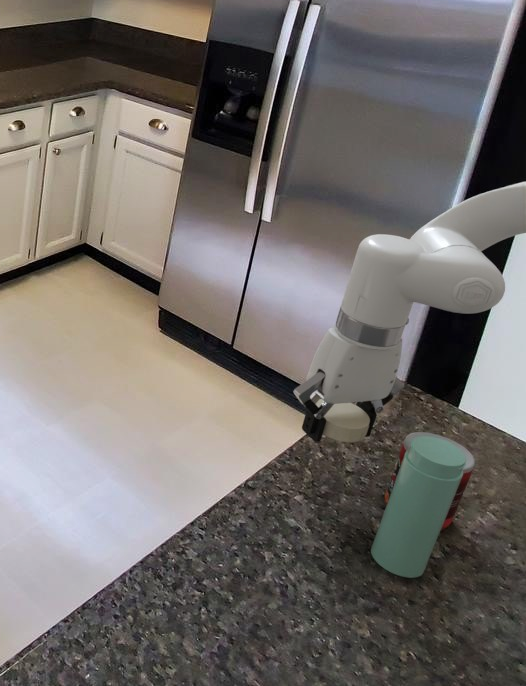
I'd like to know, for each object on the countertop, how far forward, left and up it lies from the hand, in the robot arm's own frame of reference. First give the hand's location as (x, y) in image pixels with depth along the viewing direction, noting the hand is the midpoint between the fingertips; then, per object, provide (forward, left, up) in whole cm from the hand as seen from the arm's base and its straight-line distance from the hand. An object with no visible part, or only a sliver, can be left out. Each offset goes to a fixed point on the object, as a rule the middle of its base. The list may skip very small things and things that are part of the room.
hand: (335, 432), depth 113 cm
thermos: (-4, +14, -9) cm, 17 cm away
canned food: (-11, +5, -9) cm, 15 cm away
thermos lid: (0, 0, +3) cm, 3 cm away
